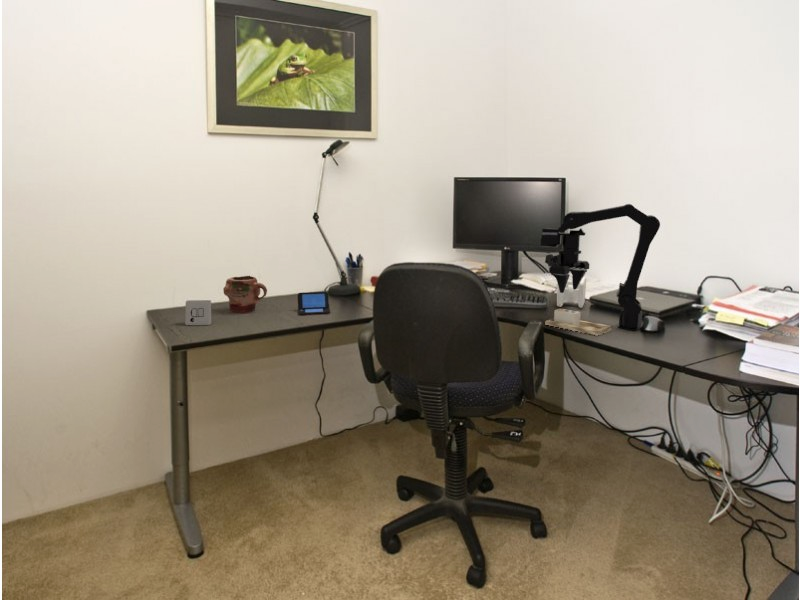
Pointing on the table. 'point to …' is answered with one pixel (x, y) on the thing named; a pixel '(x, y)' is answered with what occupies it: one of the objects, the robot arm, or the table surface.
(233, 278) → the reddish brown mug
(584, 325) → the board
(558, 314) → the white rectangular block
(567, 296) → the cable organizer
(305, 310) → the handheld game console
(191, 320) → the electrical switch
